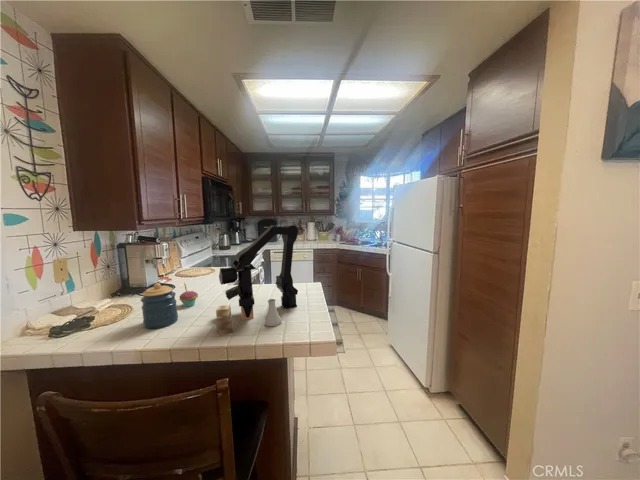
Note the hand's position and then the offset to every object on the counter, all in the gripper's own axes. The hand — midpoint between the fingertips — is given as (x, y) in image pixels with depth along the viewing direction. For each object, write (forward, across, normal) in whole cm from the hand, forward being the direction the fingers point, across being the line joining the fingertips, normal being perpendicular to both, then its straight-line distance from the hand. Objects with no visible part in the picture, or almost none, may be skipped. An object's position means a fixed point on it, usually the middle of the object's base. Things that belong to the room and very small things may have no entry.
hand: (247, 314), depth 119 cm
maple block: (+1, -2, -10) cm, 10 cm away
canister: (+1, -7, -36) cm, 37 cm away
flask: (+1, +11, +10) cm, 15 cm away
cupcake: (+1, -26, -28) cm, 38 cm away
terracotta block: (+1, 0, 0) cm, 1 cm away
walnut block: (+1, +12, -9) cm, 15 cm away
